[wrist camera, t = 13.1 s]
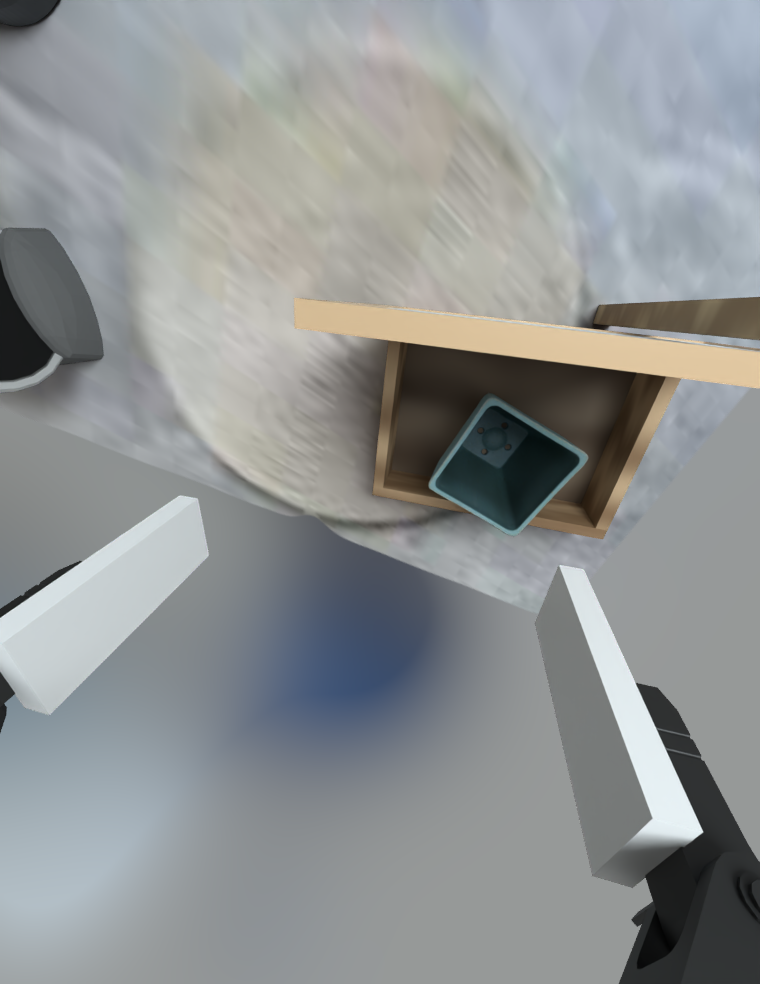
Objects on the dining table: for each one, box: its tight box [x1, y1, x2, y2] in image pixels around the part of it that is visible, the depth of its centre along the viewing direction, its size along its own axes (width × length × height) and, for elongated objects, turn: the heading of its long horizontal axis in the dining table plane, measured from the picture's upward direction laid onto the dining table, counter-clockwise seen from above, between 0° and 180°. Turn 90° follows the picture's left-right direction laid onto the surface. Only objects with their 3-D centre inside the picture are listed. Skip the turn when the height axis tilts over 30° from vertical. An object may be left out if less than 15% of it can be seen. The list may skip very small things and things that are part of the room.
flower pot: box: [428, 393, 588, 536], centre depth 32 cm, size 9×9×9 cm
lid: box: [294, 298, 760, 388], centre depth 17 cm, size 1×22×16 cm, turn 84°
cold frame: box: [372, 297, 760, 539], centre depth 26 cm, size 19×22×20 cm
